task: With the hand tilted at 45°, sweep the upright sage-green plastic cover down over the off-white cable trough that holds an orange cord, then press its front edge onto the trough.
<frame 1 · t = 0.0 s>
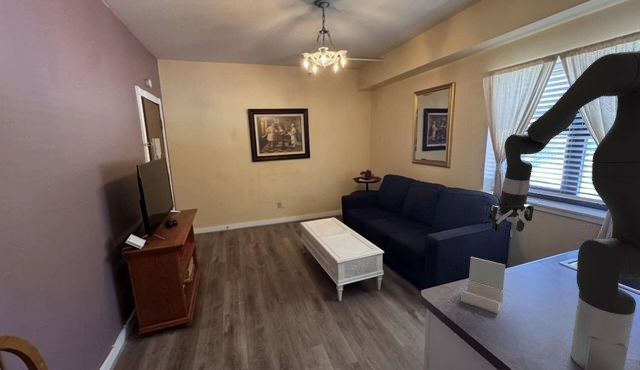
hand: (507, 231, 98), 22 cm above the counter, tool pointing down, fingers open, 8 cm apart
trough: (481, 301, 93), on the counter
cover: (486, 272, 95), point 9 cm above the counter, hinge at 95.0°
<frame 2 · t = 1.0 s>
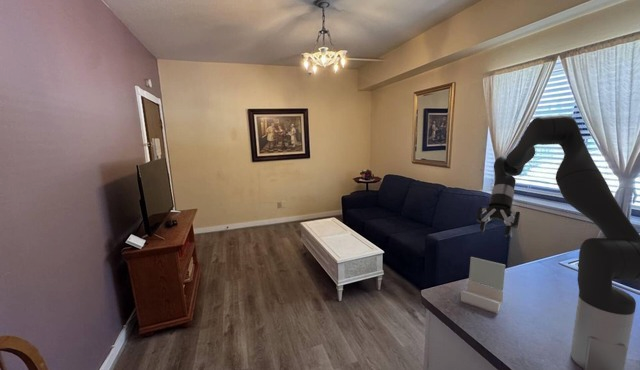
hand: (493, 233, 101), 20 cm above the counter, tool tilted 45°, fingers open, 7 cm apart
nothing on the counter moved.
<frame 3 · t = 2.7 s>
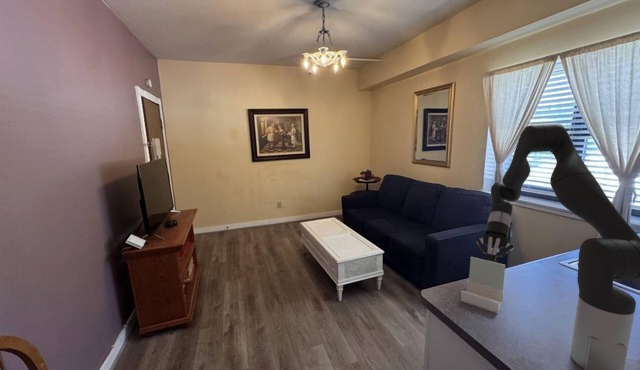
hand: (489, 264, 99), 10 cm above the counter, tool tilted 45°, fingers closed
nothing on the counter moved.
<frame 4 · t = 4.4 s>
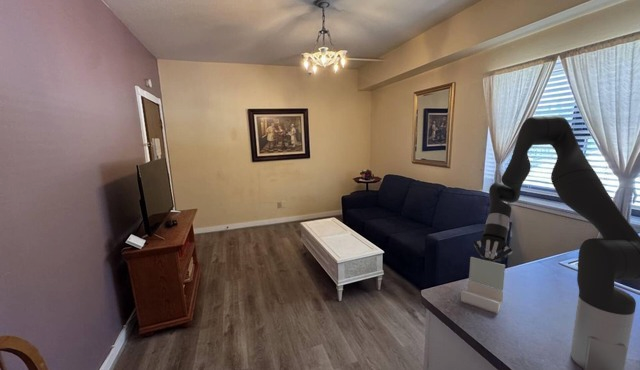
hand: (487, 269, 95), 10 cm above the counter, tool tilted 45°, fingers closed
cover: (486, 272, 95), point 9 cm above the counter, hinge at 93.9°, touching gripper
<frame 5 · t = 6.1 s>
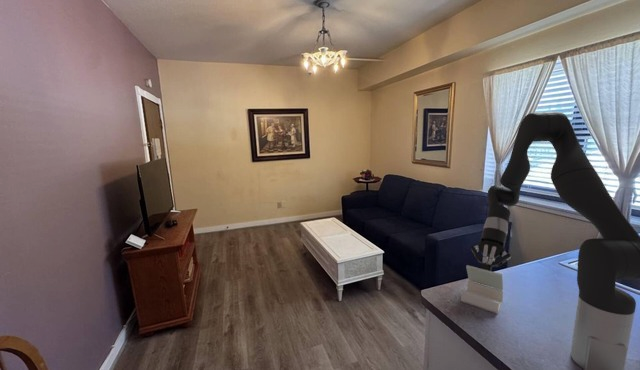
hand: (484, 274, 93), 9 cm above the counter, tool tilted 45°, fingers closed
cover: (484, 277, 93), point 8 cm above the counter, hinge at 56.3°, touching gripper
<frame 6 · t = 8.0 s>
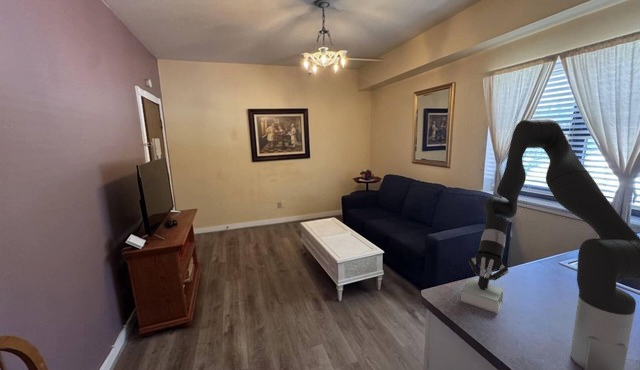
hand: (482, 288, 91), 5 cm above the counter, tool tilted 45°, fingers closed
cover: (482, 289, 92), point 4 cm above the counter, hinge at -0.6°, touching gripper
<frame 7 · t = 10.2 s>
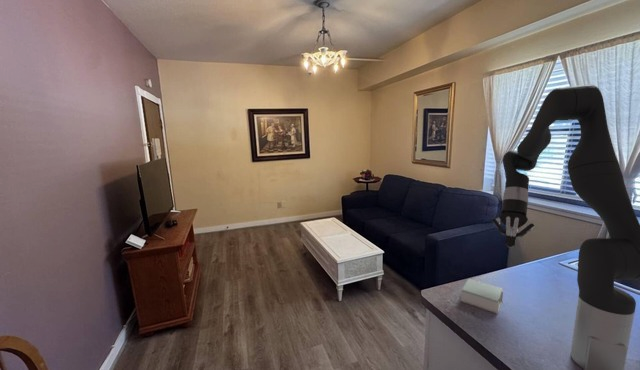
hand: (510, 247, 94), 18 cm above the counter, tool tilted 30°, fingers closed
cover: (482, 289, 92), point 4 cm above the counter, hinge at -0.7°, touching trough
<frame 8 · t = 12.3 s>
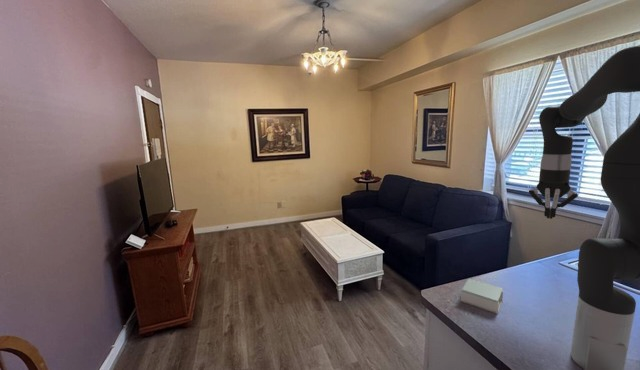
hand: (549, 218, 90), 29 cm above the counter, tool pointing down, fingers closed
nothing on the counter moved.
at the end: cover at -1° (first picture: +95°); the gripper is holding nothing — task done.
